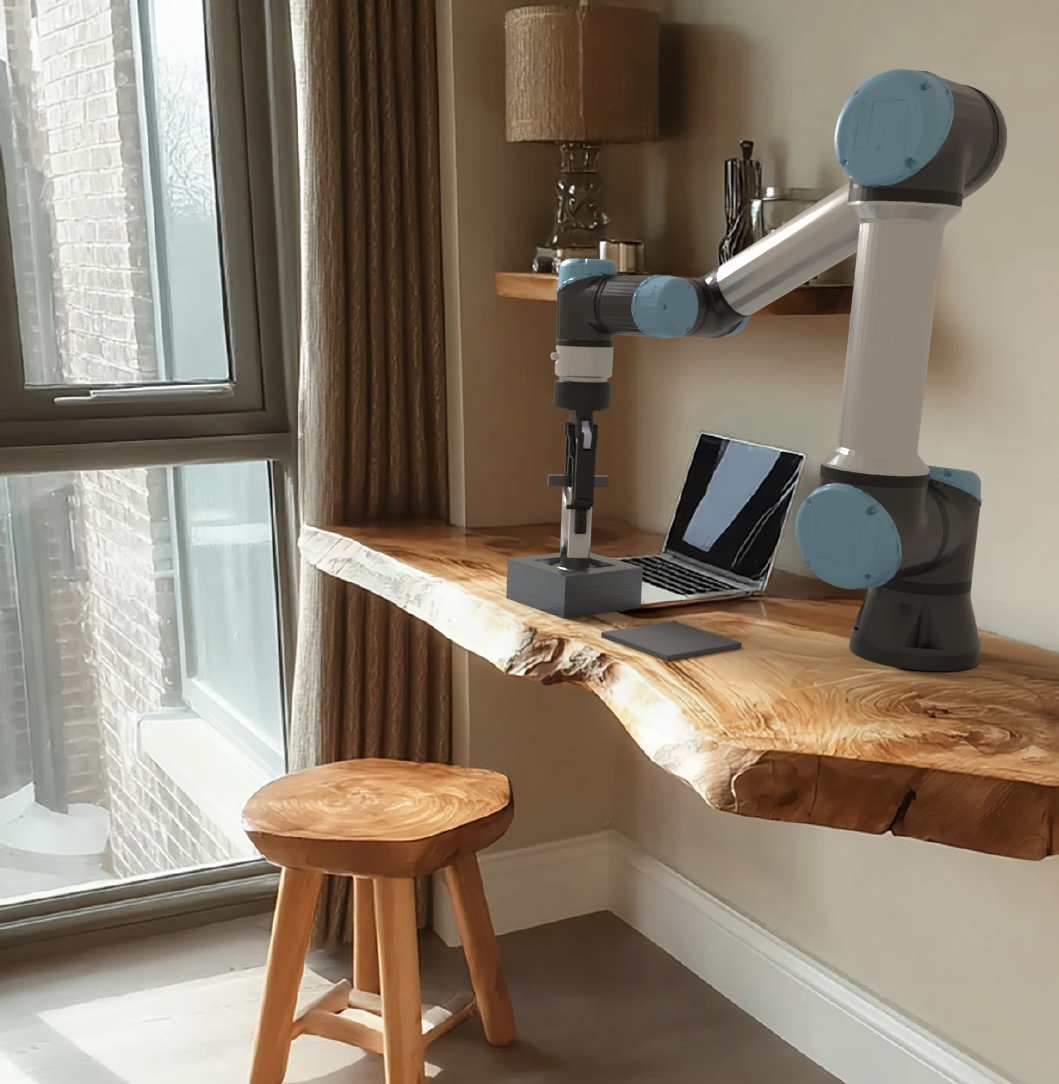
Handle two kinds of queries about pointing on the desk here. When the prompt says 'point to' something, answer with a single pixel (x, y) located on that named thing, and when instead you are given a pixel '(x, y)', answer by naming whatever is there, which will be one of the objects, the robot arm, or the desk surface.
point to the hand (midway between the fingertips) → (575, 553)
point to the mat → (671, 640)
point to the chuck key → (566, 482)
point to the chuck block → (574, 585)
